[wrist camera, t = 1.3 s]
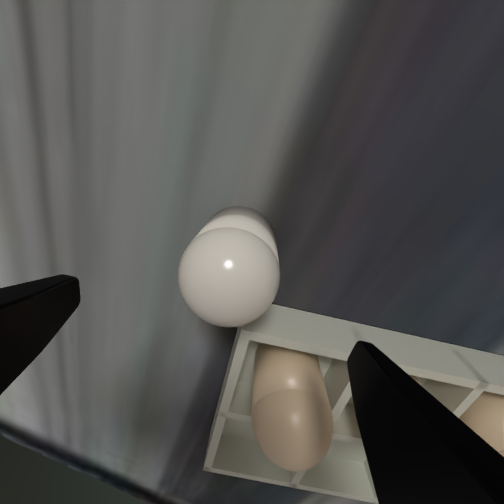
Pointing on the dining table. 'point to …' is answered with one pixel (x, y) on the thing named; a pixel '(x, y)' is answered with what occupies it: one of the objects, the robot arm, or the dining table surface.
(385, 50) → the dining table surface
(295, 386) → the carton
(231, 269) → the egg
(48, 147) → the dining table surface
